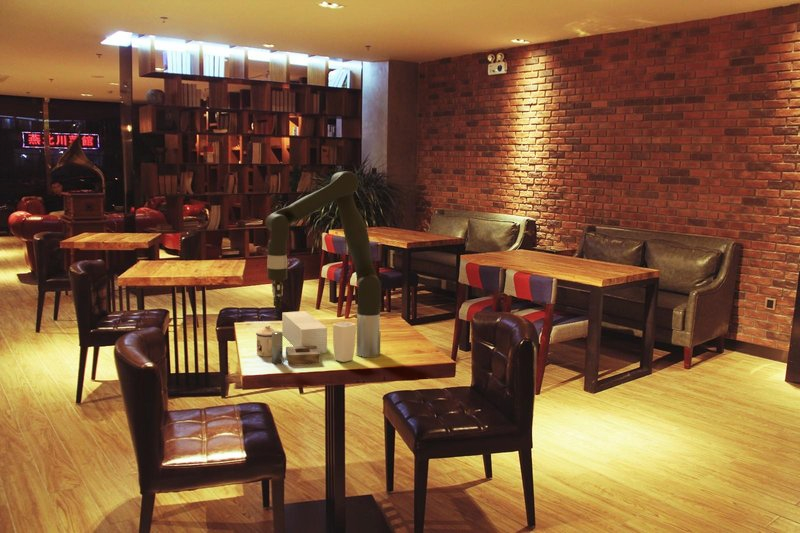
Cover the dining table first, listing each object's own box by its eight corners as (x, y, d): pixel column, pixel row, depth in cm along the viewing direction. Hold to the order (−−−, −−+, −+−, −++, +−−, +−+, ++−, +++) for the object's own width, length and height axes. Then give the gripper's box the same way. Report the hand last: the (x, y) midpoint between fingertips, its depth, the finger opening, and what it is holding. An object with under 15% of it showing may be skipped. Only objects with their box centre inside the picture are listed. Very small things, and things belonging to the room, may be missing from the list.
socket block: (315, 355, 283) (315, 345, 283) (319, 363, 272) (319, 353, 271) (285, 356, 280) (285, 346, 280) (288, 365, 269) (288, 355, 268)
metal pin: (282, 361, 274) (282, 331, 272) (282, 364, 270) (282, 333, 268) (271, 361, 273) (271, 331, 271) (272, 364, 269) (272, 334, 267)
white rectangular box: (326, 353, 287) (327, 327, 286) (301, 355, 283) (301, 329, 281) (305, 334, 316) (305, 310, 315) (282, 336, 312) (282, 312, 310)
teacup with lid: (254, 351, 286) (254, 323, 284) (277, 349, 289) (277, 322, 287) (258, 359, 275) (258, 330, 273) (282, 358, 278) (282, 329, 276)
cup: (330, 360, 277) (331, 323, 275) (345, 356, 282) (345, 320, 280) (342, 364, 272) (343, 327, 270) (356, 360, 277) (357, 324, 275)
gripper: (288, 269, 260) (288, 312, 262) (285, 263, 273) (285, 304, 276) (268, 269, 258) (268, 312, 261) (266, 263, 272) (266, 304, 274)
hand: (277, 308), depth 268 cm, fingers open, 8 cm apart
